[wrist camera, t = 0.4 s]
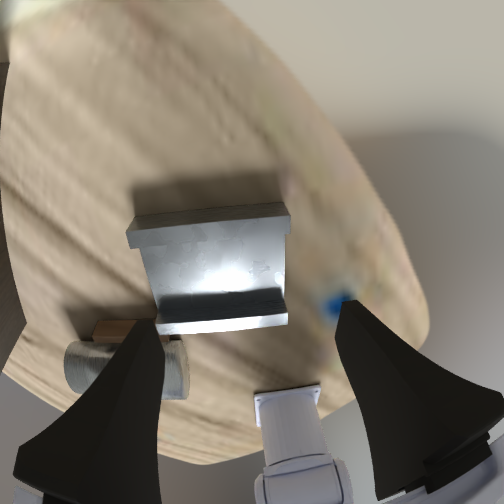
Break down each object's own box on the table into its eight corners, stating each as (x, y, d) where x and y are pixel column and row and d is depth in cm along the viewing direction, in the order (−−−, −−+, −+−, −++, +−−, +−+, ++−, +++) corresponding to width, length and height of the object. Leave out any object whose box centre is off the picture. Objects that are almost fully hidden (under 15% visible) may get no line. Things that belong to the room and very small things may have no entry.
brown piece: (189, 374, 27) (188, 390, 25) (128, 374, 27) (125, 389, 25) (169, 318, 23) (166, 335, 21) (97, 320, 22) (91, 336, 21)
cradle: (282, 305, 23) (287, 324, 21) (162, 315, 23) (159, 334, 21) (283, 202, 19) (290, 215, 17) (134, 217, 18) (125, 231, 16)
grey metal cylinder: (179, 327, 24) (172, 375, 19) (190, 365, 26) (188, 410, 22) (75, 329, 23) (57, 369, 18) (96, 365, 26) (83, 404, 21)
